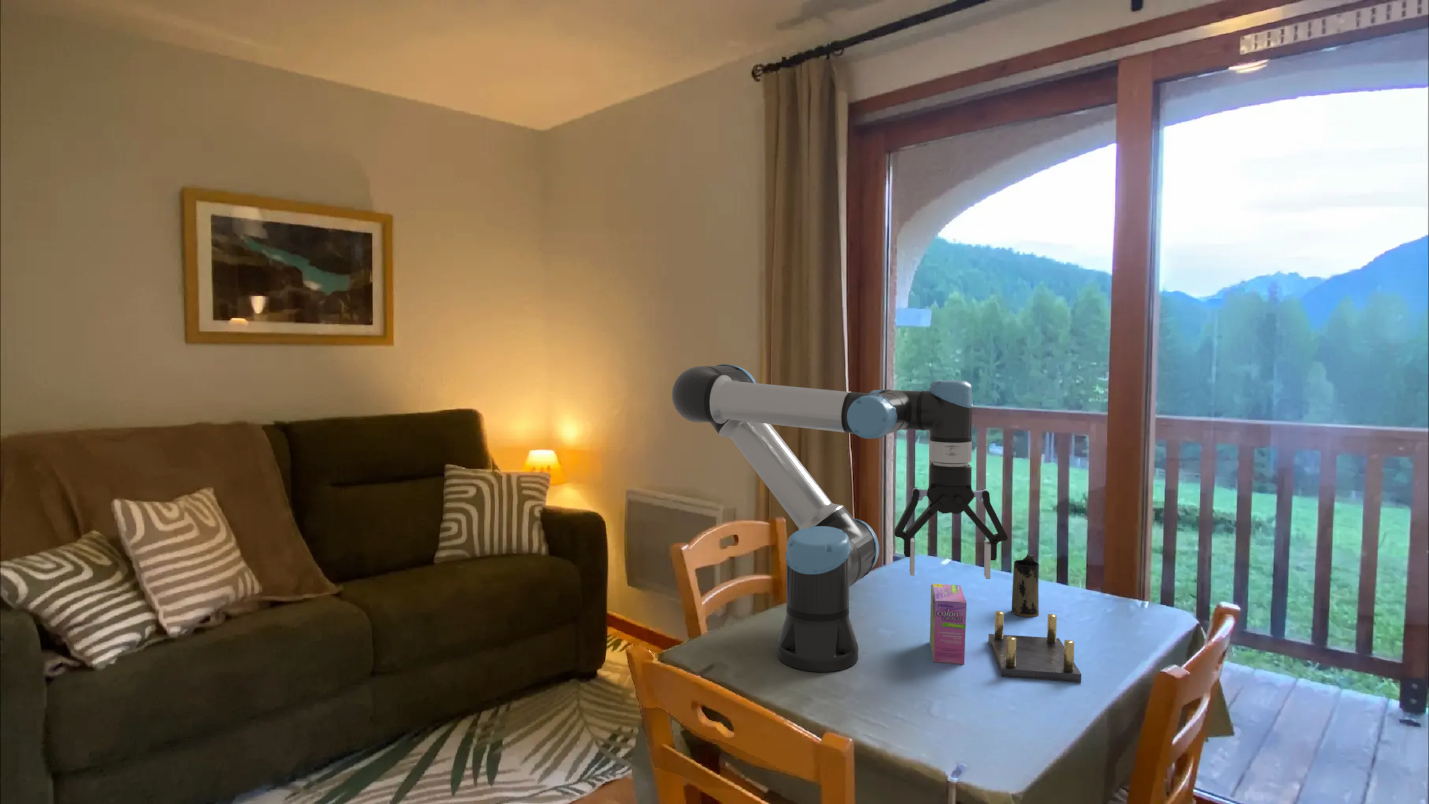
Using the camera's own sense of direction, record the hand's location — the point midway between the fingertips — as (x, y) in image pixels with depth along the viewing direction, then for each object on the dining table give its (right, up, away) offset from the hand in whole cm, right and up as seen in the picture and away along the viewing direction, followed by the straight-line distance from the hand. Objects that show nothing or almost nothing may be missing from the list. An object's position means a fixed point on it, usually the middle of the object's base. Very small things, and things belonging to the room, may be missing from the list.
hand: (949, 575), depth 150 cm
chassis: (+14, -15, -3) cm, 21 cm away
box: (0, -15, +1) cm, 15 cm away
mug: (+24, -13, +24) cm, 36 cm away
